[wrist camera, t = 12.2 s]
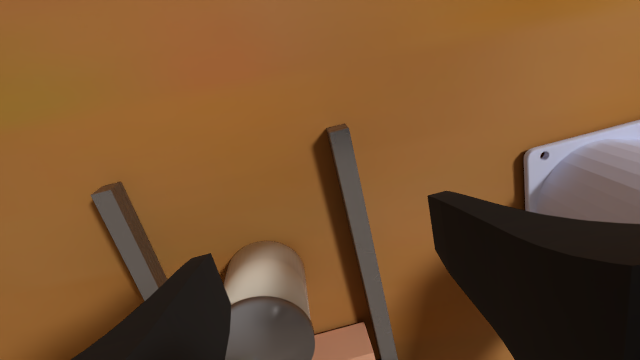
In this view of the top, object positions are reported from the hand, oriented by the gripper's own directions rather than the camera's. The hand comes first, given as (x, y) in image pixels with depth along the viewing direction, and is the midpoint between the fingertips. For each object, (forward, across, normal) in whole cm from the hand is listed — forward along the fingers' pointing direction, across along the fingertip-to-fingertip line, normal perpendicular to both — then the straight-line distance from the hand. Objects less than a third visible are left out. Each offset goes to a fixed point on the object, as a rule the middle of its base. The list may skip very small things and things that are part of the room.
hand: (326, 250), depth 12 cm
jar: (+8, +4, +6) cm, 11 cm away
